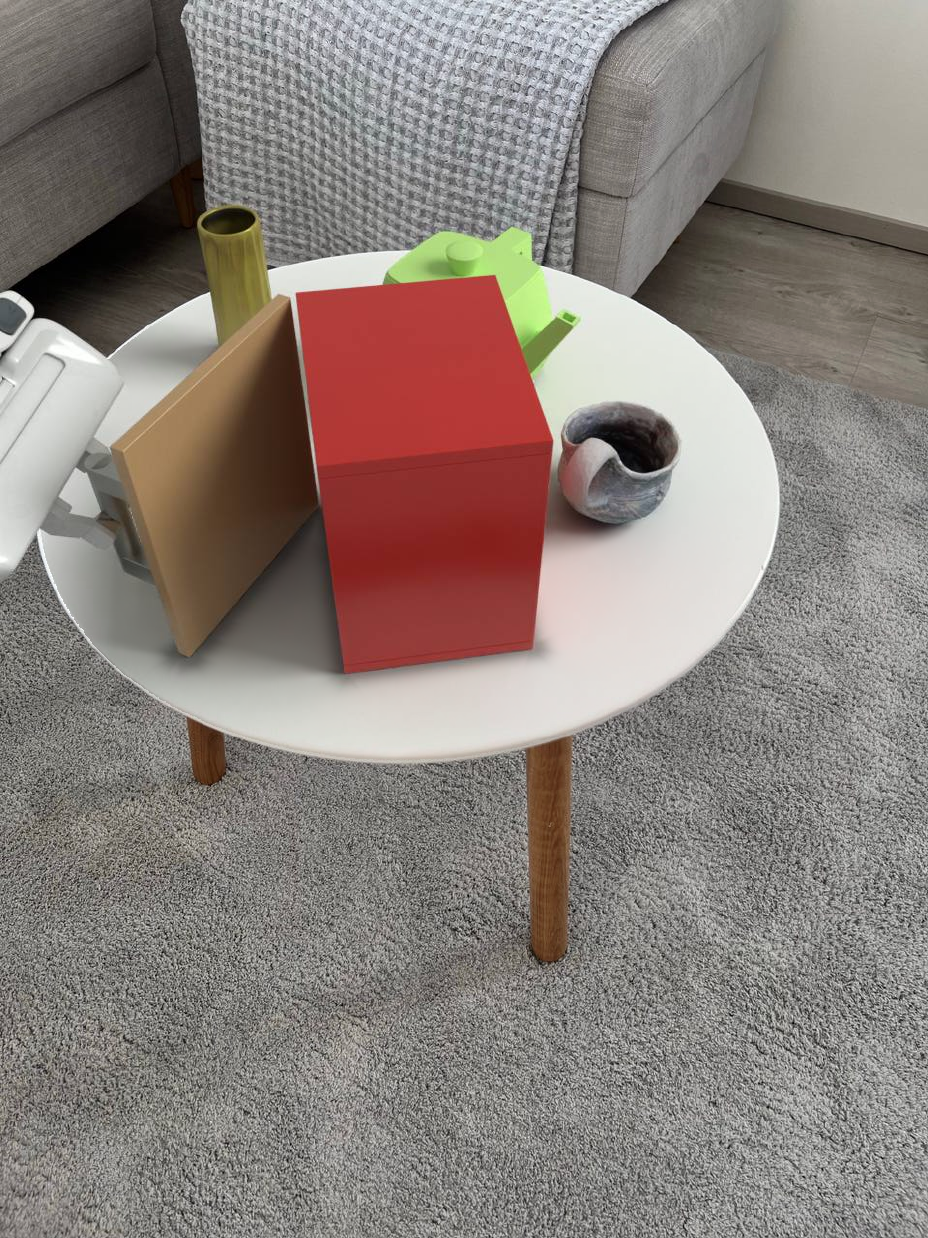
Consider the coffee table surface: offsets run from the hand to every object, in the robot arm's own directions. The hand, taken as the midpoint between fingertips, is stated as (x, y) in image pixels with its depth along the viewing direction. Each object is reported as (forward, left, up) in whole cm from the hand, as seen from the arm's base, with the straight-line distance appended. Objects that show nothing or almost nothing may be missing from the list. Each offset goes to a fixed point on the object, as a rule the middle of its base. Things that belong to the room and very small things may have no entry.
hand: (124, 519), depth 71 cm
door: (+5, +4, -9) cm, 11 cm away
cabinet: (+21, 0, -9) cm, 23 cm away
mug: (+37, +4, -10) cm, 38 cm away
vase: (+9, +30, -10) cm, 33 cm away
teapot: (+30, +23, -10) cm, 39 cm away
